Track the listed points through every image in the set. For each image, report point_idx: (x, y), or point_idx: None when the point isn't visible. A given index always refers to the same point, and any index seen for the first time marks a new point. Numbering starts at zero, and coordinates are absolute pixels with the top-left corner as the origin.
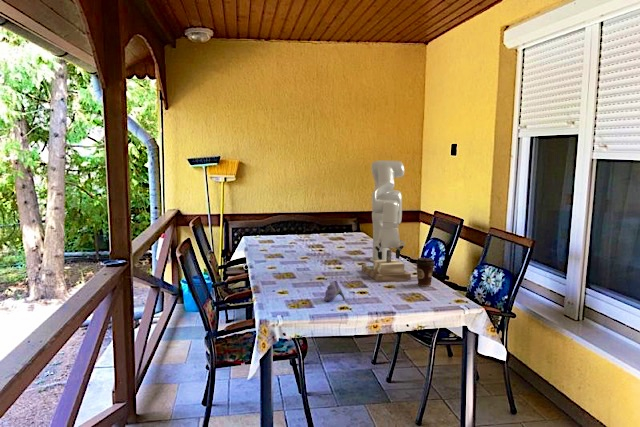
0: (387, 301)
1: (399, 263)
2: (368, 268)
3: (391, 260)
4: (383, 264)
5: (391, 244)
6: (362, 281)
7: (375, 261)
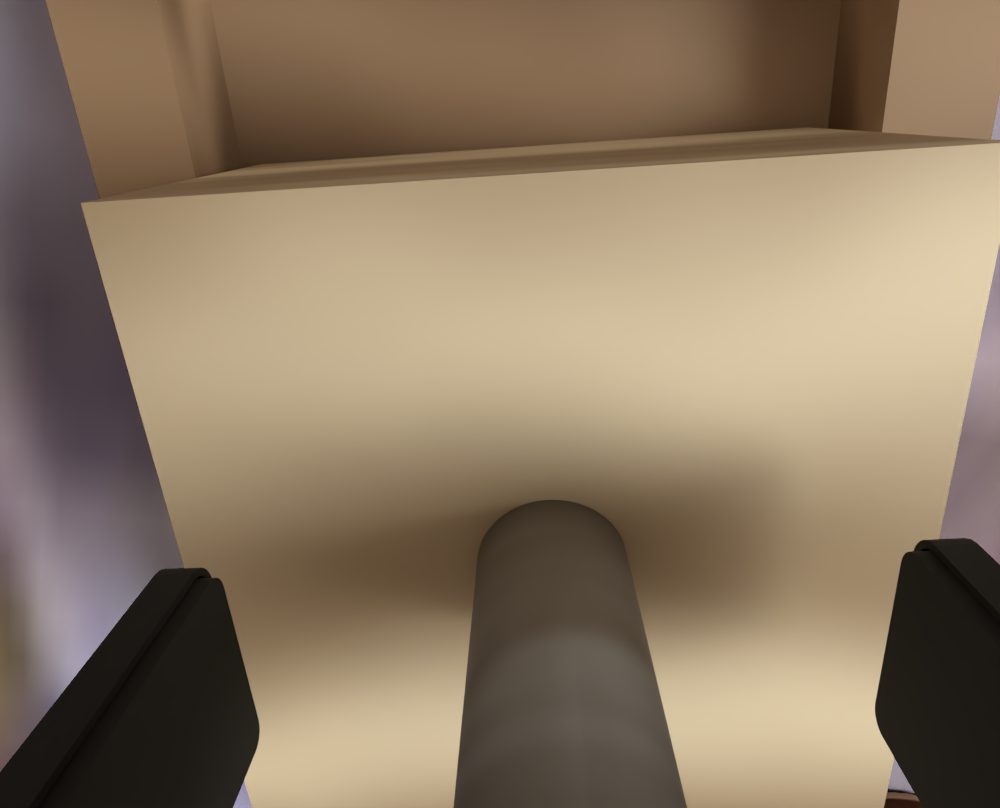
0: None
1: (787, 753)
2: (88, 76)
3: (755, 347)
4: (308, 785)
5: None
6: (25, 568)
7: (137, 392)
